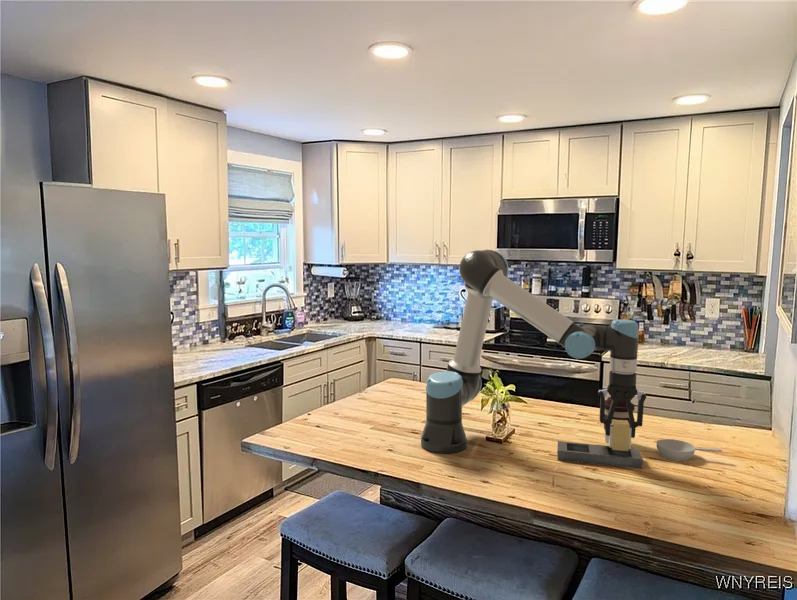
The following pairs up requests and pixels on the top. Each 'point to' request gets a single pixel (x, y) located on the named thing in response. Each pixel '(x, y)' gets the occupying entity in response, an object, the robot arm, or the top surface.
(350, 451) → the top surface
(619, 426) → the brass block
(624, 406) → the coffee cup
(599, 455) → the gray slotted rack
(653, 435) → the top surface
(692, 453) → the small pan
